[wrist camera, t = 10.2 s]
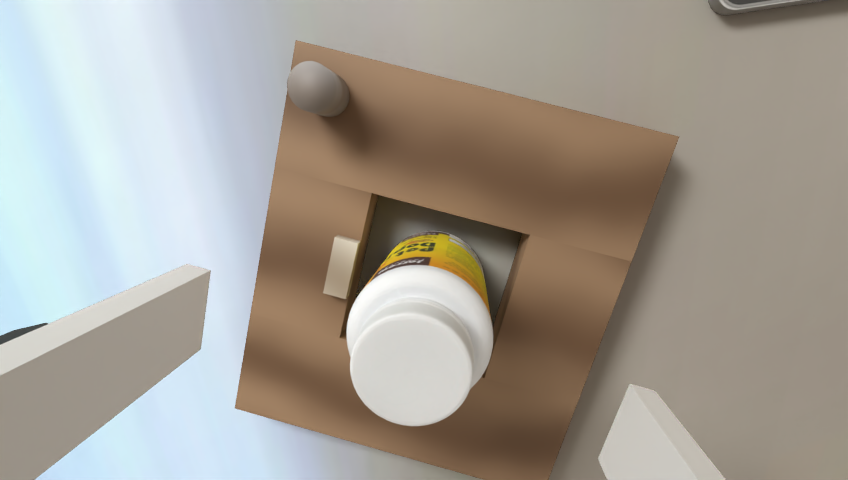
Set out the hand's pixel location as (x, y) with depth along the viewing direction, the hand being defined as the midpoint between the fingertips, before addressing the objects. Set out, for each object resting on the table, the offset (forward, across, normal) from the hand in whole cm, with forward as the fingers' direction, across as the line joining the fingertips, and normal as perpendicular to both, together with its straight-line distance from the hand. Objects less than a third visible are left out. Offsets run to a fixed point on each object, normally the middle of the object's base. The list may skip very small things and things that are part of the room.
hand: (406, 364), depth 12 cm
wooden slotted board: (+10, 0, -1) cm, 10 cm away
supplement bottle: (+11, 0, -1) cm, 11 cm away
